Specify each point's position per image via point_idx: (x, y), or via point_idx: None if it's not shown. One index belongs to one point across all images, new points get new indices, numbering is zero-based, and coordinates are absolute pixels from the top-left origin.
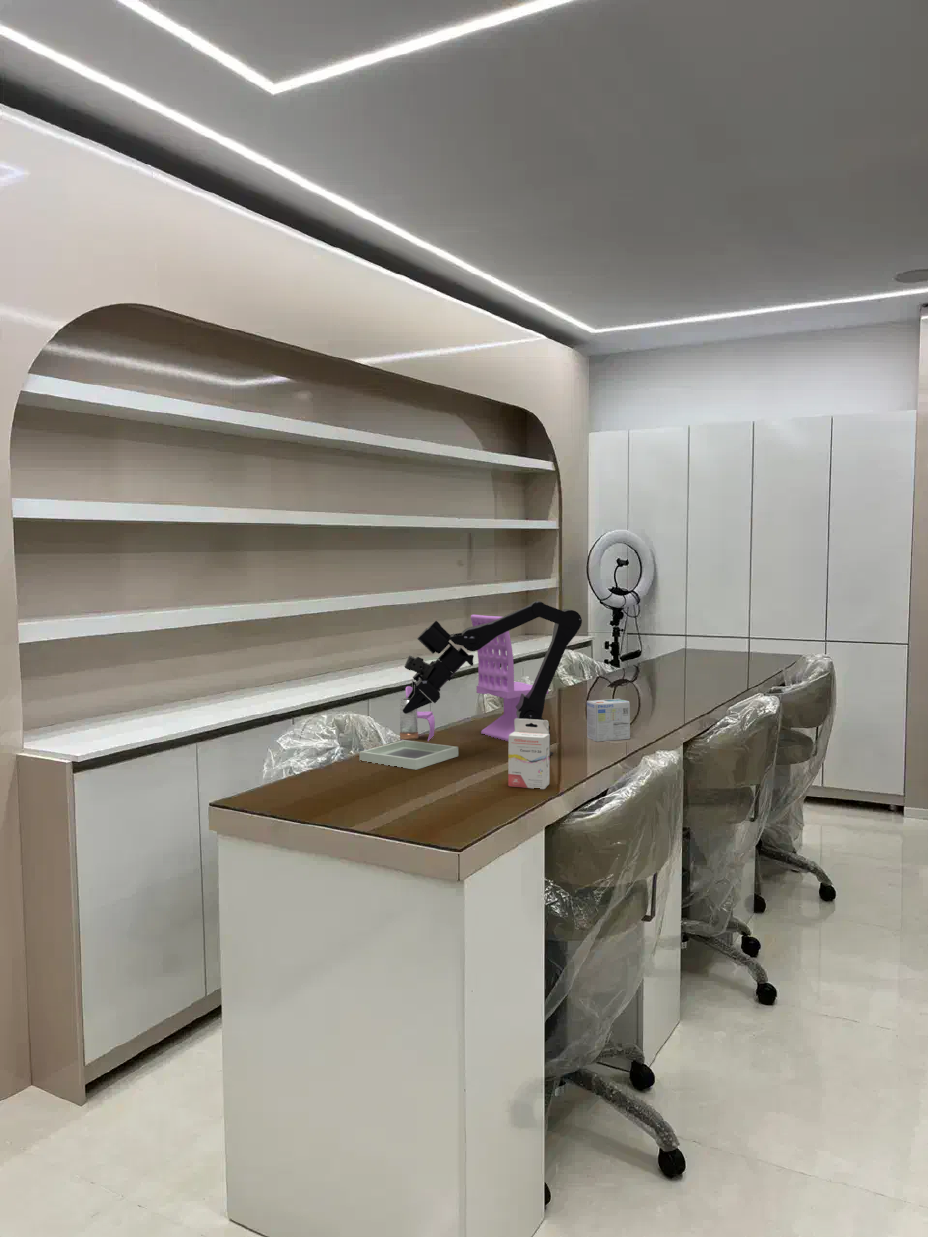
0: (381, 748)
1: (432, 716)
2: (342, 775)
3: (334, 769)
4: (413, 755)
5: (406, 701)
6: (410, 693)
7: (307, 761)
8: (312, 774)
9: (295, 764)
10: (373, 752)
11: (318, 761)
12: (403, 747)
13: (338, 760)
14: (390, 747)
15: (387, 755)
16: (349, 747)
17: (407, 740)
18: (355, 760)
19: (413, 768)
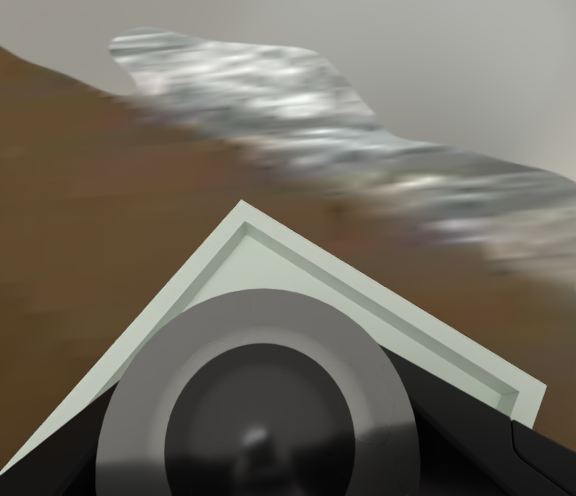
0: (344, 286)
1: None
2: (12, 186)
3: (120, 154)
4: None
5: (110, 413)
6: (533, 472)
7: (260, 74)
8: (63, 103)
9: (220, 52)
10: (293, 257)
11: (257, 100)
12: (482, 393)
13: (268, 152)
14: (404, 327)
15: (137, 328)
16: (498, 166)
17: (533, 412)
18: (263, 205)
19: None
